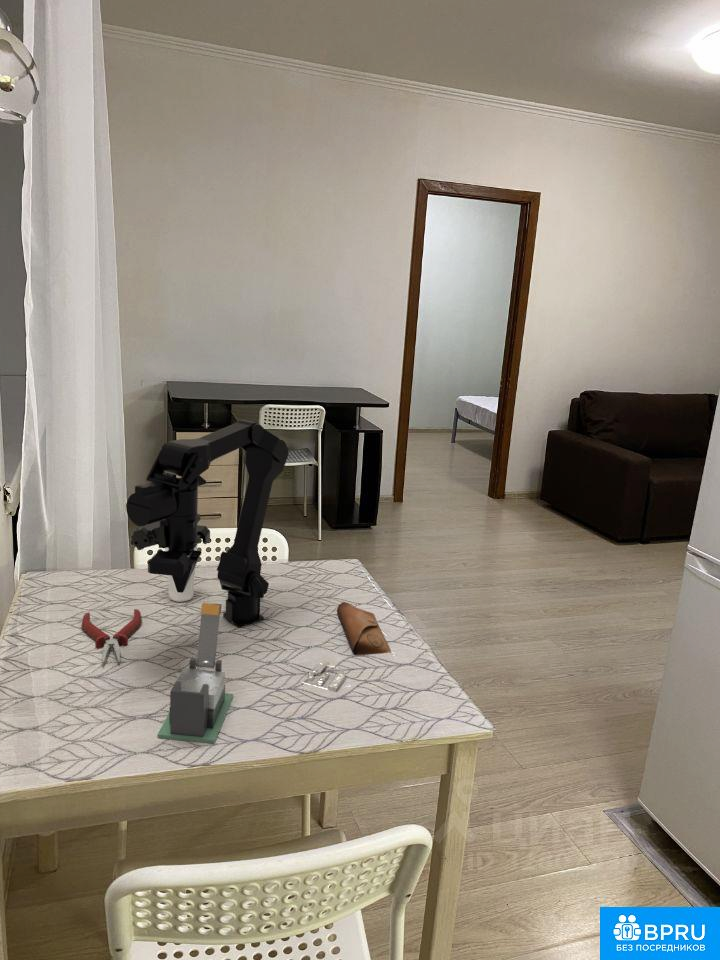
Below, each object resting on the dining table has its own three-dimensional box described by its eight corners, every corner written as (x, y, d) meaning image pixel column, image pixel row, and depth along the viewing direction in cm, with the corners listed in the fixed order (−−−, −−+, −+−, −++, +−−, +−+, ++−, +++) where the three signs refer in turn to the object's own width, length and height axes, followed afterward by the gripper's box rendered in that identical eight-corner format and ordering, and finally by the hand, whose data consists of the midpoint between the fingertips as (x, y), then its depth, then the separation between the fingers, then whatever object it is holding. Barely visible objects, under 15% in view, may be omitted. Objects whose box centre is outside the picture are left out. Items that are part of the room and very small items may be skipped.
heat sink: (184, 696, 121) (184, 666, 120) (224, 700, 121) (225, 670, 120) (169, 724, 114) (169, 692, 112) (212, 728, 113) (213, 697, 112)
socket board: (182, 691, 124) (182, 649, 121) (233, 696, 123) (234, 654, 121) (157, 737, 111) (157, 691, 109) (214, 743, 111) (215, 697, 109)
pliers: (77, 673, 128) (77, 660, 127) (82, 621, 146) (82, 610, 145) (144, 667, 131) (144, 654, 131) (141, 617, 150) (141, 606, 149)
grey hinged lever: (197, 665, 121) (204, 602, 122) (215, 667, 121) (221, 604, 122) (195, 667, 119) (201, 603, 120) (212, 669, 119) (219, 605, 120)
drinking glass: (182, 588, 164) (183, 526, 159) (203, 597, 160) (204, 534, 156) (158, 597, 158) (158, 534, 154) (179, 607, 154) (179, 542, 150)
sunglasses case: (394, 653, 142) (380, 627, 140) (363, 671, 141) (348, 645, 139) (373, 612, 159) (360, 589, 156) (345, 628, 158) (332, 605, 156)
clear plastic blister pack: (335, 695, 127) (336, 687, 127) (300, 685, 130) (300, 678, 129) (351, 673, 135) (351, 666, 134) (317, 665, 137) (318, 658, 136)
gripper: (154, 493, 137) (154, 568, 141) (117, 524, 119) (118, 609, 123) (211, 498, 137) (210, 573, 141) (182, 530, 119) (182, 615, 123)
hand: (180, 591), depth 132 cm, fingers closed
